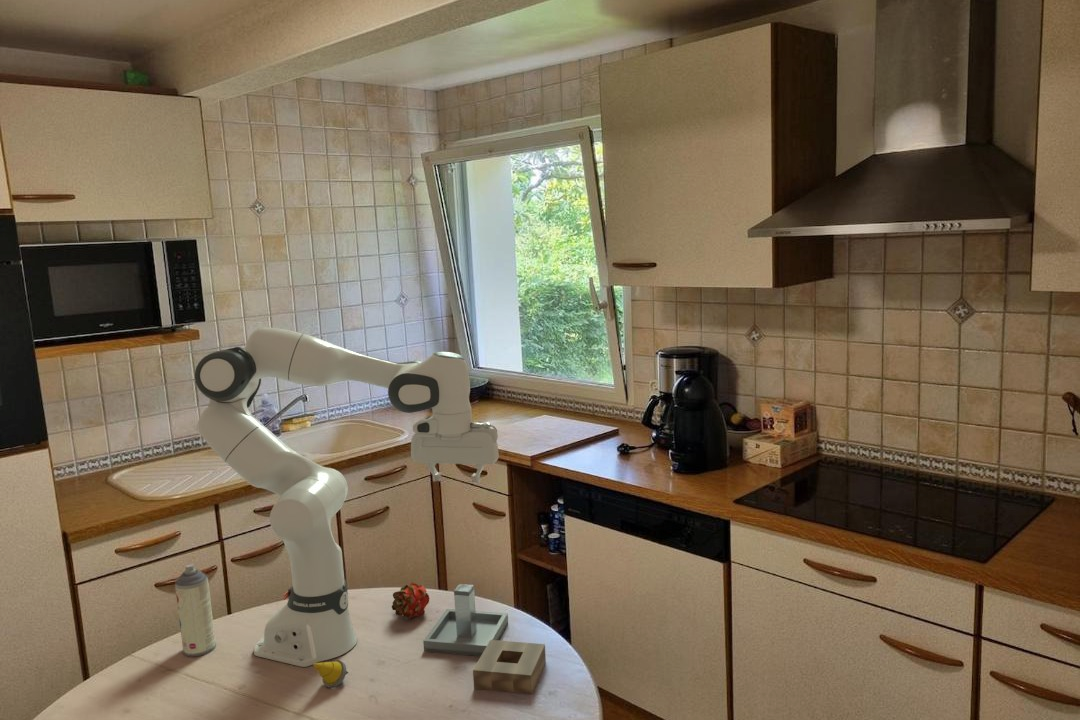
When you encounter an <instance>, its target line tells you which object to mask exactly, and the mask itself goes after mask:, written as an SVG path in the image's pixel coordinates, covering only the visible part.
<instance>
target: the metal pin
mask: <svg viewBox="0 0 1080 720" xmlns="http://www.w3.org/2000/svg"><path fill="white" fill-rule="evenodd" d="M475 596H476V595H475V585H474V584H468V583H467V584H466V583H465V584H463V583H459V584H458V585H457V586H456V587H455V589H454V590H453V597H454V609H455V614H456V629H457V637H466V638H472V637H473V635H474V634H475V632H476V631H477V626H476V611H477V610H476V597H475Z"/></svg>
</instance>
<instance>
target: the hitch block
mask: <svg viewBox="0 0 1080 720" xmlns="http://www.w3.org/2000/svg"><path fill="white" fill-rule="evenodd" d="M546 660H547V659H546V644H545V643H536V642H535V643H534V642H532V643H531V642H522V641H512V640H511V641H508V640H499V641H498V640H490V642H489V643H488V645H487V647H486V648H485V650H484V652H483V654H482V655H481V656H479V659H478V661H477V662H476V664H475V666H474V667H473V669H472V676H473V677H472V679H473V689H476V690H477V689H478V690H487V691H497V692H507V693H517V694H528V695H533V693H534V690H535V688H536V686H537V684H538V681H539V679H540V677H541V674H542V671H543V670H544V667H545V664H546V663H547V661H546Z"/></svg>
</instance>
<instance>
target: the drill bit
mask: <svg viewBox="0 0 1080 720" xmlns="http://www.w3.org/2000/svg"><path fill="white" fill-rule="evenodd" d="M312 666H313V667H314V669H315V670H316V671H317V673H318V674H319V676H320V677H321V678H322V682H323V684H324V686H326V687H328V688H330V689H334V688H337V687H338V686H340V685H341V684H342V683H343V681H344V679H345V678H346V676H347V674H349V671H347V666H346V663H345V662H344V661H342V660H340V659H333V660H332V661H325V662H324V661H322V662H317V663H314V664H312Z"/></svg>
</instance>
